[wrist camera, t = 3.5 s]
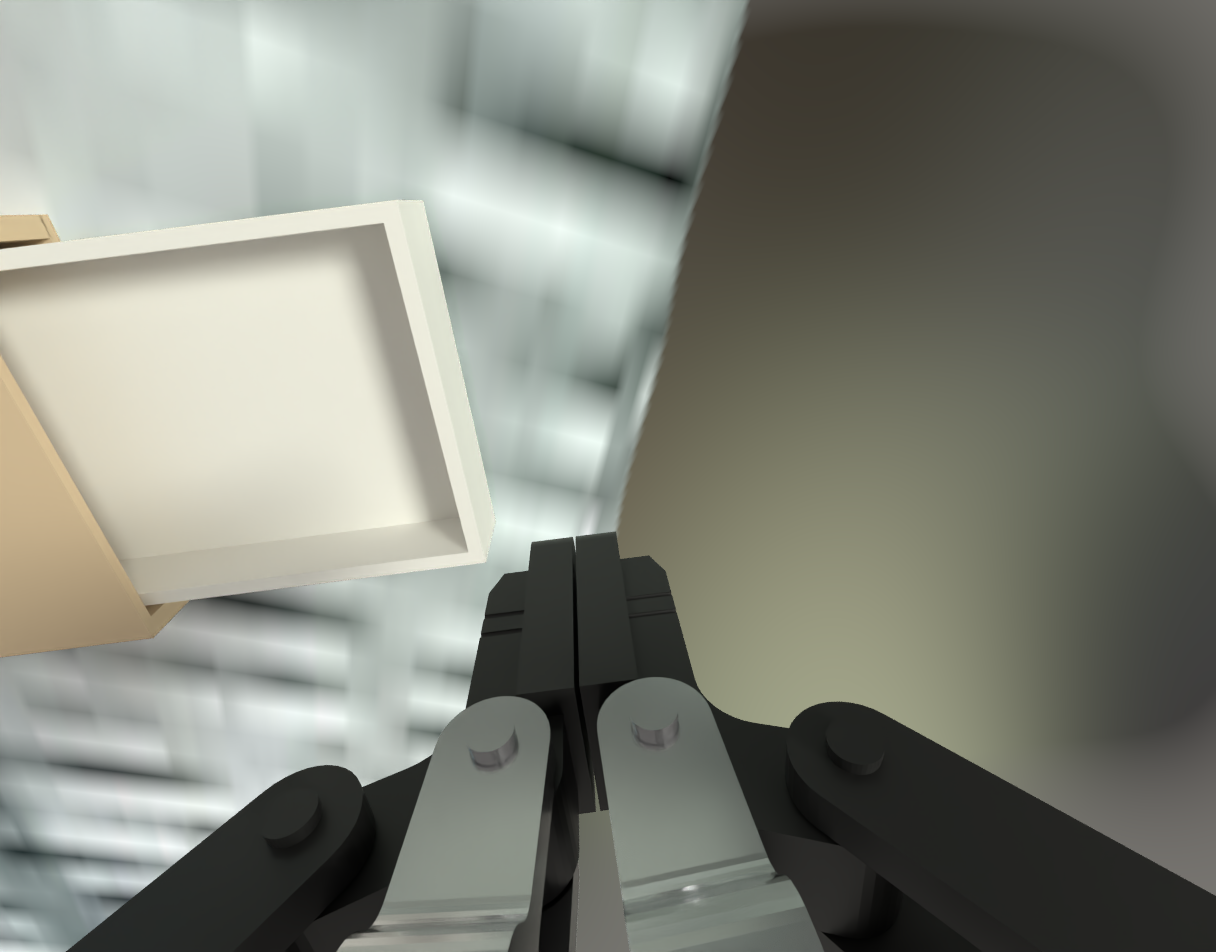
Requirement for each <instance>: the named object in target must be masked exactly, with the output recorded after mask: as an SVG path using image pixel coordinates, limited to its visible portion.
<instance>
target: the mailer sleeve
mask: <svg viewBox="0 0 1216 952" xmlns="http://www.w3.org/2000/svg"><path fill="white" fill-rule="evenodd" d="M55 242H60V239H59V237H58V235H57V233H56V231H55V229H54V227H53V225H52V223H51V221H50V219H49V217H48V215H1V216H0V249H6V248H14V247H22V246H30V245H38V244H46V243H55ZM188 601H189V600H186V601H179V602H171V603H163V604H155V605H147V606H145V605H144V604H143V602H142V600H141V598H140V597H139V595H138V593H137V591H136V590H135V588H134V586H133V585H132V583H131V581H130V579H129V578H128V576H127V574H126V572H125V571H124V569H123V567H122V565H121V564H120V562H119V560H118V558H117V557H116V555H115V553H114V551H113V550H112V548H111V546H110V544H109V543H108V541H107V539H106V538H105V536H104V534H103V532H102V531H101V529H100V527H99V525H98V524H97V522H96V520H95V518H94V517H93V515H92V513H91V511H90V510H89V508H88V506H87V504H86V503H85V501H84V499H83V497H82V496H81V494H80V492H79V491H78V489H77V487H76V485H75V484H74V482H73V480H72V478H71V477H70V475H69V473H68V471H67V470H66V468H65V466H64V464H63V463H62V461H61V459H60V457H59V456H58V454H57V452H56V451H55V449H54V447H53V445H52V444H51V442H50V440H49V438H48V437H47V435H46V433H45V431H44V430H43V428H42V426H41V424H40V423H39V421H38V419H37V417H36V416H35V414H34V412H33V410H32V409H31V407H30V405H29V404H28V402H27V400H26V398H25V397H24V395H23V393H22V391H21V390H20V388H19V386H18V384H17V383H16V381H15V379H14V377H13V376H12V374H11V372H10V370H9V369H8V367H7V365H6V363H5V362H4V360H3V358H2V357H1V355H0V657H8V656H15V655H23V654H31V653H39V652H47V651H55V650H63V649H71V648H78V647H86V646H94V645H102V644H110V643H118V642H126V641H133V640H141V639H149V638H154V637H155V636H156V635H157V634H158V633H159V632H160V630H161V629H162V628H163V627H164V626H165V625H166V624H167V623H168V622H169V621H170V620H171V619H172V618H173V617H174V616H175V615H176V614H177V613H178V612H179V611H180V610H181V609H182V608H183V607H184V606H185V605H186V604H187V603H188Z"/></svg>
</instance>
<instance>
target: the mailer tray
mask: <svg viewBox="0 0 1216 952" xmlns="http://www.w3.org/2000/svg"><path fill="white" fill-rule="evenodd" d="M0 355H1V357H2V358H3V360H4V362H5V363H6V365H7V367H8V369H9V370H10V372H11V374H12V376H13V377H14V379H15V381H16V383H17V384H18V386H19V388H20V390H21V391H22V393H23V395H24V397H25V398H26V400H27V402H28V404H29V405H30V407H31V409H32V410H33V412H34V414H35V416H36V417H37V419H38V421H39V423H40V424H41V426H42V428H43V430H44V431H45V433H46V435H47V437H48V438H49V440H50V442H51V444H52V445H53V447H54V449H55V451H56V452H57V454H58V456H59V457H60V459H61V461H62V463H63V464H64V466H65V468H66V470H67V471H68V473H69V475H70V477H71V478H72V480H73V482H74V484H75V485H76V487H77V489H78V491H79V492H80V494H81V496H82V497H83V499H84V501H85V503H86V504H87V506H88V508H89V510H90V511H91V513H92V515H93V517H94V518H95V520H96V522H97V524H98V525H99V527H100V529H101V531H102V532H103V534H104V536H105V538H106V539H107V541H108V543H109V544H110V546H111V548H112V550H113V551H114V553H115V555H116V557H117V558H118V560H119V562H120V564H121V565H122V567H123V569H124V571H125V572H126V574H127V576H128V578H129V579H130V581H131V583H132V585H133V586H134V588H135V590H136V591H137V593H138V595H139V597H140V598H141V600H142V602H143V604H144V605H145V606H147V605H155V604H163V603H171V602H179V601H186V600H194V599H202V598H210V597H218V596H226V595H234V594H242V593H249V592H257V591H265V590H273V589H281V588H289V587H297V586H305V585H313V584H320V583H328V582H336V581H344V580H352V579H360V578H368V577H376V576H383V575H391V574H399V573H407V572H415V571H423V570H431V569H439V568H446V567H454V566H462V565H470V564H478V563H486V560H487V556H488V552H489V547H490V543H491V539H492V535H493V531H494V527H495V522H496V520H495V515H494V511H493V506H492V502H491V498H490V493H489V489H488V484H487V480H486V476H485V471H484V467H483V462H482V458H481V454H480V449H479V445H478V440H477V436H476V432H475V427H474V423H473V418H472V414H471V410H470V405H469V401H468V396H467V392H466V387H465V383H464V379H463V374H462V370H461V365H460V361H459V357H458V352H457V348H456V343H455V339H454V335H453V330H452V326H451V321H450V317H449V313H448V308H447V304H446V299H445V295H444V291H443V286H442V282H441V277H440V273H439V269H438V264H437V260H436V255H435V251H434V247H433V242H432V238H431V233H430V229H429V225H428V220H427V216H426V211H425V207H424V203H423V201H420V200H392V201H384V202H376V203H368V204H360V205H352V206H344V207H336V208H328V209H319V210H311V211H303V212H295V213H287V214H279V215H271V216H263V217H255V218H247V219H239V220H231V221H223V222H215V223H207V224H199V225H191V226H183V227H175V228H167V229H159V230H151V231H143V232H135V233H127V234H119V235H111V236H103V237H95V238H87V239H79V240H71V241H63V242H55V243H46V244H38V245H30V246H22V247H14V248H6V249H0Z"/></svg>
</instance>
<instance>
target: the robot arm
mask: <svg viewBox="0 0 1216 952" xmlns="http://www.w3.org/2000/svg"><path fill="white" fill-rule="evenodd" d="M594 775H595V780H596V787H597V793H598V799H599V804H600V810H601V811H603V810H609V813H610V819H611V826H612V833H613V839H614V845H615V853H616V859H617V866H618V873H619V879H620V886H621V892H622V899H623V906H624V914H625V922H626V929H627V935H628V942H629V949H630V952H1216V896H1215V895H1213V894H1211V893H1209V892H1208V891H1206V890H1204V889H1202V888H1200V887H1198V886H1197V885H1195V884H1193V883H1191V882H1189V881H1187V880H1186V879H1184V878H1182V877H1180V876H1178V875H1176V874H1175V873H1173V872H1171V871H1169V870H1167V869H1166V868H1164V867H1162V866H1160V865H1158V864H1156V863H1155V862H1153V861H1151V860H1149V859H1147V858H1145V857H1144V856H1142V855H1140V854H1138V853H1136V852H1134V851H1133V850H1131V849H1129V848H1127V847H1125V846H1124V845H1122V844H1120V843H1118V842H1116V841H1114V840H1113V839H1111V838H1109V837H1107V836H1105V835H1103V834H1102V833H1100V832H1098V831H1096V830H1094V829H1093V828H1091V827H1089V826H1087V825H1085V824H1083V823H1081V822H1079V821H1078V820H1076V819H1074V818H1072V817H1071V816H1069V815H1067V814H1065V813H1063V812H1061V811H1059V810H1058V809H1056V808H1054V807H1052V806H1050V805H1049V804H1047V803H1045V802H1043V801H1041V800H1040V799H1038V798H1036V797H1034V796H1032V795H1030V794H1028V793H1026V792H1025V791H1023V790H1021V789H1019V788H1018V787H1016V786H1014V785H1012V784H1010V783H1009V782H1007V781H1005V780H1003V779H1001V778H999V777H998V776H996V775H994V774H992V773H990V772H988V771H986V770H985V769H983V768H981V767H979V766H977V765H976V764H974V763H972V762H970V761H968V760H966V759H965V758H963V757H961V756H959V755H957V754H956V753H954V752H952V751H950V750H948V749H946V748H945V747H943V746H941V745H939V744H937V743H935V742H934V741H932V740H930V739H928V738H926V737H924V736H923V735H921V734H919V733H917V732H915V731H914V730H912V729H910V728H908V727H906V726H904V725H903V724H901V723H899V722H897V721H895V720H893V719H892V718H890V717H888V716H886V715H884V714H882V713H880V712H878V711H876V710H874V709H871V708H868V707H866V706H863V705H859V704H854V703H849V702H826V703H821V704H817V705H814V706H811V707H809V708H807V709H806V710H804V711H802V712H801V713H800V714H799V715H798V716H797V717H796V718H795V719H794V720H793V722H792V723H791V725H790V728H783V727H777V726H771V725H764V724H758V723H752V722H748V721H743V720H740V719H737V718H734V717H732V716H730V715H728V714H726V713H724V712H722V711H721V710H719V709H718V708H716V707H715V706H713V705H712V704H711V703H710V702H709V701H708V700H707V699H706V698H705V697H704V696H703V694H702V693H701V692H700V690H699V688H698V686H697V684H696V681H695V678H694V675H693V671H692V667H691V664H690V660H689V656H688V652H687V649H686V645H685V641H684V638H683V634H682V630H681V627H680V623H679V619H678V616H677V613H676V608H675V605H674V601H673V597H672V595H671V590H670V586H669V582H668V579H667V575H666V572H665V570H664V569H663V568H662V567H660V566H659V565H658V564H657V563H656V562H655V561H654V560H653V559H652V558H651V557H650V556H642V557H634V558H627V559H620V556H619V550H618V543H617V536H616V532H608V533H600V534H592V535H584V536H576V552H575V545H574V540H573V537H569V538H561V539H553V540H545V541H537V542H532V544H531V551H530V561H529V570H528V571H523V572H515V573H507V574H504V575H503V577H502V578H501V579H500V580H499V582H498V583H497V584H496V585H495V587H494V588H493V589H492V590H491V592H490V593H489V596H488V601H487V606H486V611H485V619H484V621H483V626H482V631H481V638H480V641H479V645H478V650H477V655H476V660H475V665H474V670H473V675H472V680H471V685H470V690H469V695H468V700H467V705H466V709H465V710H463V711H462V712H461V713H459V714H458V715H457V716H456V717H455V718H453V719H452V720H451V721H450V722H449V724H448V725H447V726H446V727H445V728H444V730H443V731H442V733H441V735H440V736H439V738H438V741H437V743H436V745H435V748H434V751H433V754H432V755H431V756H429V757H428V758H426V759H425V760H423V761H421V762H420V763H418V764H416V765H414V766H412V767H410V768H407V769H405V770H403V771H400V772H398V773H395V774H393V775H391V776H388V777H386V778H383V779H381V780H378V781H376V782H374V783H371V784H369V785H366V786H364V787H362V786H361V784H360V782H359V780H358V778H357V777H356V776H355V775H354V774H353V773H352V772H351V771H349V770H347V769H346V768H343V767H339V766H332V765H324V766H316V767H311V768H307V769H304V770H301V771H299V772H296V773H294V774H292V775H290V776H287V777H285V778H284V779H282V780H280V781H279V782H277V783H275V784H274V785H272V786H271V787H270V788H268V789H267V790H266V791H264V792H263V793H262V794H260V795H259V796H258V797H257V798H255V799H254V800H253V801H252V802H250V803H249V804H248V805H247V806H245V807H244V808H243V809H242V810H241V811H239V812H238V813H237V814H236V815H234V816H233V817H232V818H231V819H229V820H228V821H227V822H226V823H224V824H223V825H222V826H221V827H220V828H218V829H217V830H216V831H215V832H213V833H212V834H211V835H210V836H208V837H207V838H206V839H205V840H203V841H202V842H201V843H200V844H199V845H197V846H196V847H195V848H194V849H192V850H191V851H190V852H189V853H187V854H186V855H185V856H184V857H182V858H181V859H180V860H179V861H177V862H176V863H175V864H174V865H173V866H171V867H170V868H169V869H168V870H166V871H165V872H164V873H163V874H161V875H160V876H159V877H158V878H156V879H155V880H154V881H153V882H152V883H150V884H149V885H148V886H147V887H145V888H144V889H143V890H142V891H140V892H139V893H138V894H137V895H135V896H134V897H133V898H132V899H131V900H129V901H128V902H127V903H126V904H124V905H123V906H122V907H121V908H119V909H118V910H117V911H116V912H114V913H113V914H112V915H111V916H109V917H108V918H107V919H106V920H105V921H103V922H102V923H101V924H100V925H98V926H97V927H96V928H95V929H93V930H92V931H91V932H90V933H88V934H87V935H86V936H85V937H84V938H82V939H81V940H80V941H79V942H77V943H76V944H75V945H74V946H72V947H71V948H70V949H69V950H67V951H66V952H576V937H577V918H578V899H579V879H580V876H579V865H578V858H579V814H582V813H590V812H596V806H595V785H594Z"/></svg>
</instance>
